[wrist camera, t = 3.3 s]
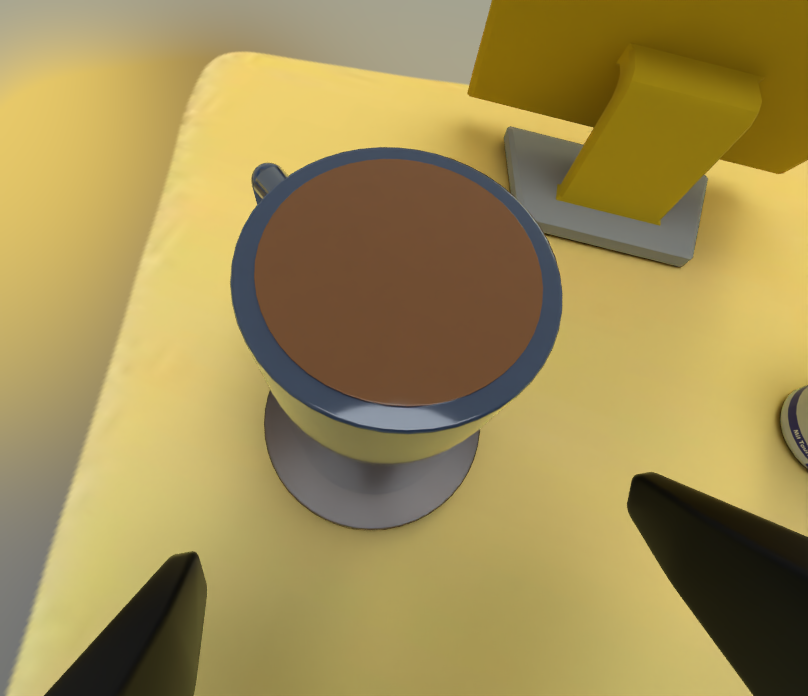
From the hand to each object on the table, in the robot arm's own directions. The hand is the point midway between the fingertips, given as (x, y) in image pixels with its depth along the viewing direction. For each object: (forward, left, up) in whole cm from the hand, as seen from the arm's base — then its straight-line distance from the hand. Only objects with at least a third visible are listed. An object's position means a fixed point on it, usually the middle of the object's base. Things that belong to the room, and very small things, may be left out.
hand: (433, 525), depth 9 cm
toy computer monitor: (+20, -13, -11) cm, 27 cm away
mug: (+6, +2, -10) cm, 12 cm away
